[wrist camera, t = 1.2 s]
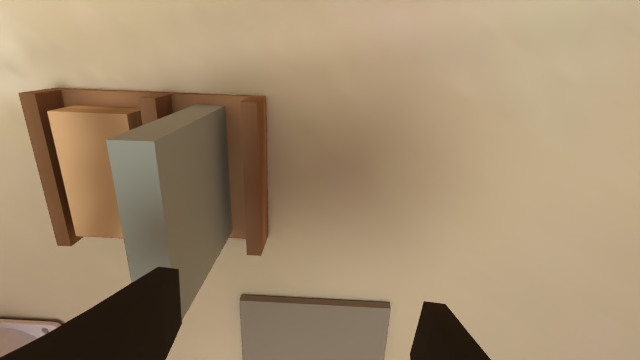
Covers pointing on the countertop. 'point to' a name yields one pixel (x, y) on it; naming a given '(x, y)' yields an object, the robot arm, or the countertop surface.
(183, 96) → the walnut rack
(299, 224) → the countertop surface
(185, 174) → the grey square slab
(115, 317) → the robot arm
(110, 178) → the upper offcut
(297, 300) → the rubber mat
